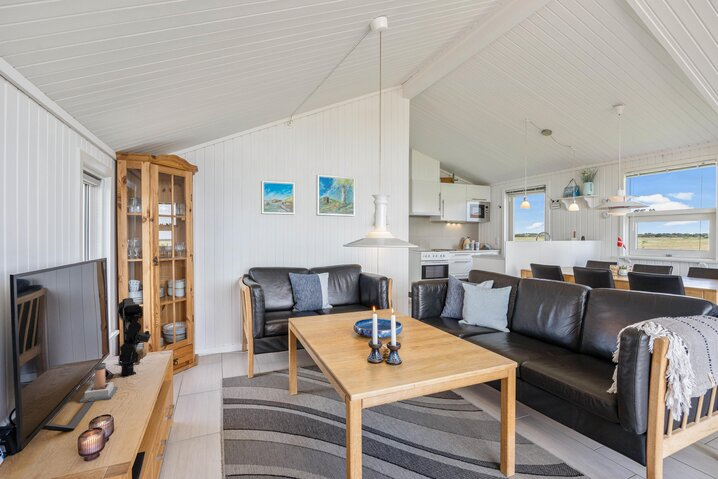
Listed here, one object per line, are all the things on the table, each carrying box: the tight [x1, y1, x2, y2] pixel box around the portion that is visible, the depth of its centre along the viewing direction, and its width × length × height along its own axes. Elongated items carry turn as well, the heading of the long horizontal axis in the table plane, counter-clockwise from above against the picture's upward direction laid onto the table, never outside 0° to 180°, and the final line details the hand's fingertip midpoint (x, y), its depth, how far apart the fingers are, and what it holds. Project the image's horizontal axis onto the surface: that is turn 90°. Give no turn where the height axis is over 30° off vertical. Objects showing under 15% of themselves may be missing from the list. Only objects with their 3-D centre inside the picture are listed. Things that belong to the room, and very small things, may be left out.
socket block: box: [79, 381, 119, 404], centre depth 169 cm, size 12×12×4 cm
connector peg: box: [93, 362, 107, 390], centre depth 169 cm, size 4×4×14 cm
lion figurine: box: [136, 348, 148, 366], centre depth 209 cm, size 15×5×9 cm, turn 97°
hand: (131, 358), depth 182 cm, fingers open, 9 cm apart
